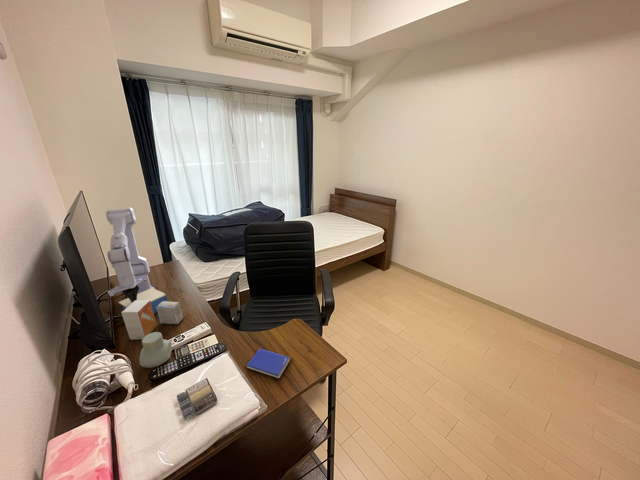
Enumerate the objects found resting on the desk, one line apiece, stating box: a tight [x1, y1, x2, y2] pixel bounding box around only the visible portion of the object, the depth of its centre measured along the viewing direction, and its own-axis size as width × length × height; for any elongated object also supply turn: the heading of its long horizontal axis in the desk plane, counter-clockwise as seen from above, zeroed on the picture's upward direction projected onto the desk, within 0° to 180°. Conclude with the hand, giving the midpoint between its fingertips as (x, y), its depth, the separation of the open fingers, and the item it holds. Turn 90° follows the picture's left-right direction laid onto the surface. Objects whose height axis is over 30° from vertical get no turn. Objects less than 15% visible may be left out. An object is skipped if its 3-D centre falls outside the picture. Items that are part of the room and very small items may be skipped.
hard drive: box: [246, 348, 291, 379], centre depth 88 cm, size 2×8×12 cm
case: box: [121, 295, 169, 314], centre depth 116 cm, size 14×12×6 cm
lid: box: [118, 287, 167, 308], centre depth 115 cm, size 14×12×1 cm
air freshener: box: [138, 331, 173, 369], centre depth 88 cm, size 11×8×10 cm
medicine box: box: [156, 301, 184, 325], centre depth 108 cm, size 8×4×9 cm, turn 84°
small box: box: [121, 300, 158, 341], centre depth 101 cm, size 8×6×13 cm
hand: (134, 301), depth 112 cm, fingers closed, pressing on lid
